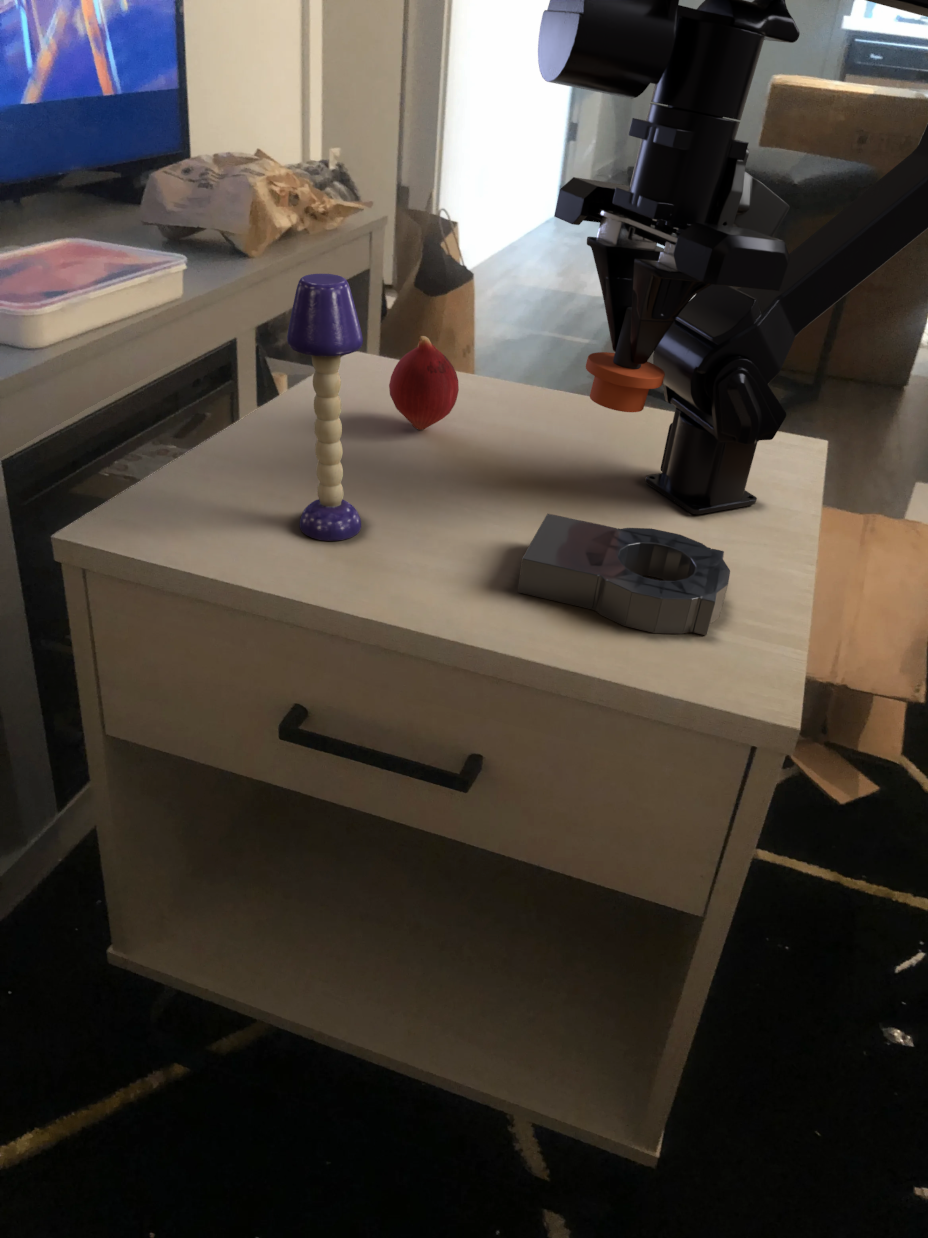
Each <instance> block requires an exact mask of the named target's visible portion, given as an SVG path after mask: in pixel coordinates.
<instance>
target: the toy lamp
mask: <svg viewBox="0 0 928 1238" xmlns="http://www.w3.org/2000/svg"><path fill="white" fill-rule="evenodd" d="M293 299H294V300H293V304H292V308H291V314H290V319H289V324H288V328H287V335H286V341H287V345H288V346H289V348H290V349H292V350H293V351H294V352H297V353H299V354H302V355H306V356H311V363H312V367H313V369H314V372H313V376H312V388H313V391H314V393H315V395H314V398H313V409H314V410H313V411H314V414H315V416H316V418H315V421H314V423H313V424H314V425H313V427H314V429H313V430H314V435H315V437H316V439H317V440H316V443H315V446H314V452H315V456H316V459H317V461H318V462H317V464H316V467H315V468H316V469H315V470H316V471H315V473H316V478H317V480H318V485H317V487H316V488H317V490H316V492H317V494H316V495H317V498H318V499H315V500H313V501H312V502H310V503H309V504H308V505H307V506H306V507H305V508H304V509H303V511H302V513H301V516H300V519H299V530H300V531H301V532H302V533H303V534H304V535H306V536H307V537H309V538H312V539H315V540H320V541H326V542H337V541H342V540H343V541H344V540H348V539H351V538H353V537H355V536H357V535H358V534H359V532H360V531H361V529H362V519H361V516H360V514H359V511H358V509H356V508H355V506H354V505H353V504H351V503H350V502H349V501H347V500H345V499H343V498H344V487H343V485H342V480H343V476H344V470H343V469H344V468H343V465H342V463H341V461H342V457H343V445H342V442H341V440H340V439H341V438H342V433H343V426H342V421H341V419H340V415H341V412H342V400H341V397H340V395H339V393H340V391H341V389H342V388H341V387H342V380H341V379H342V378H341V376H340V375H341V374H340V373H339V369H340V366H341V361H342V360H341V359H342V358H341V356H347V355H350V354H352V353H355V352H357V351H358V350H360V349H361V348H362V346H363V343H364V338H363V332H362V329H361V324H360V320H359V317H358V312H357V308H356V305H355V301H354V297H353V293H352V290H351V287H350V284H349V282H348V280H347V279H346V278H345V277H343V276H342V275H338V274H334V273H310V274H306V275H304V276H302V277H301V278H300V279H299V280H298V283H297V286H296V289H295V295H294V298H293Z"/></svg>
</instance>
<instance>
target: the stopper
mask: <svg viewBox="0 0 928 1238" xmlns="http://www.w3.org/2000/svg"><path fill="white" fill-rule="evenodd" d="M631 318H632V307H628V308H627V309H626V313H625V317H624V320H623V324H622V328H621V332H620V336H619V340H618V344H617V347H616V351H615V352H609V351H608V352H607V351H606V352H605V351H602V352H601V351H597V352H592V353H590V354H588V356H587V358H586V362H585V370H586V371H587V372H588V373H589V374H590V375H592V376H593V381H592V385H591V389H590V392H589V398H590V400H591V401H592V402H593V403H595V404H597V405H599V406H602V407H603V408H606V409H610V410H613V411H617V412H622V413H641V412H642V411H643V410H644V408H645V405H646V401H647V397H648V394H649V391H650V390H653V389H654V390H655V389H658V388H660V387H662V386H663V380H664V376H665V373H664V371H663V370H662V369H661V368H659V367H658V366H656V365H654V364H653V362H651V361H647V362H646V363H645V364H635V363H633V362H632V361H631V347H630V338H631Z"/></svg>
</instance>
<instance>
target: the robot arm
mask: <svg viewBox="0 0 928 1238" xmlns="http://www.w3.org/2000/svg"><path fill="white" fill-rule="evenodd" d="M865 1H866V2H870V3H874V4H876V5H881V6H885V7H888V8H891V9H896V10H899V11H904V12H907V13H911V14H914V15H918V16H921V17H926V18H928V0H865ZM679 3H680V0H549V2H548V5H547V9H544V11H543V13H542V16H541V21H540V25H539V33H538V43H537V63H538V68H539V72H540V75H541V78H542V79H543V80H544V81H545V82H547V83H551V84H557V85H562V86H567V87H572V88H577V89H581V90H585V91H591V92H597V93H600V94H606V95H611V96H616V97H620V98H626V99H631V100H632V99H635V98H638V97H640V96H641V95H642V94H643V93H644V92H645V91H646V90H647V88H648V87H649V85H650V84H652V85H654V88H653V91H652V94H651V99H650V103H649V107H648V110H647V114H646V118H645V119H640V118H635V117H632V118H631V123H630V127H629V131H628V136H629V137H634V138H637V139H640V143H639V147H638V150H637V155H636V156H637V157H636V159H635V162H634V163H635V164H634V168H633V172H632V176H631V180H630V184H629V185H625V184H623V183H617V182H616V183H615V182H609V181H602V180H595V179H589V178H583V177H582V178H581V177H574V176H573V177H572V178H571V179H569V180H568V181H567V182H566V183H565V184H564V185H563V186H562V187H561V188H560V189H559V192H558V195H557V200H556V205H555V210H554V214H553V217H554V218H557V219H559V220H561V221H563V222H566V223H568V224H571V225H574V226H580V225H581V224H582V223H583V222H592V223H599V226H598V230H597V234H596V237H595V236H587V237H586V245H587V246H588V247H590V248H591V252H592V256H593V261H594V264H595V268H596V272H597V273H596V274H597V277H598V280H599V285H600V289H601V293H602V300H603V304H604V309H605V315H606V320H607V326H608V331H609V332H608V333H609V336H610V337H609V338H610V342H611V348H612V352H613V353H615V351H616V347H617V344H618V340H619V336H620V332H621V328H622V324H623V320H624V317H625V313H626V309H627V308H628V307H632V318H631V338H630V347H631V361H632V362H633V363H635V364H645V363H646V362H649V359H651V356H652V364H654V365H656V366H658V367H659V368H661V369H662V370H663V371H664V373H665V376H664V380H663V383H662V386H663V393H664V400H665V401H666V402H667V403H668V404H671V405H672V406H674V407H675V409H674V413H673V419H672V422H671V423H670V424H669V426H668V431H667V434H666V435H667V436H666V440H665V445H664V450H663V455H662V458H661V464H660V473H655V474H648V475H646V476H645V480H644V482H645V483H646V484H647V485H648V486H649V487H651V488H653V489H654V490H655V491H657V492H658V493H660V494H662V495H663V496H664V497H666V498H668V500H670V501H672V502H674V503H675V504H676V505H678V506H680V507H681V508H683V509H684V510H685V511H687V512H688V513H690V514H692V515H704V514H710V513H714V512H715V513H716V512H720V511H725V510H731V509H737V508H744V507H749V506H753V505H756V504H757V500H758V498H757V496H756V495H754V494H752V493H750V492H749V491H747V490H746V488H747V483H748V479H749V476H750V472H751V468H752V465H753V461H754V457H755V454H756V450H757V446H758V442H759V441H772V440H773V439H774V438H775V436H776V435H777V433H778V431H779V430H780V428H781V426H782V424H783V423H784V421H785V420H786V418H787V412H786V410H785V409H784V407H783V406H782V404H781V402H780V401H779V399H778V398H777V396H776V395H775V394H774V392H773V390H772V389H771V387H770V386H769V384H770V383H771V382H772V381H773V380H774V379H775V378H776V377H777V376H778V375H779V373H780V372H781V371H782V369H783V366H784V364H785V361H786V359H787V357H788V355H789V353H790V350H791V349H792V346H793V343H794V341H795V339H796V337H797V336H798V335H799V334H800V333H801V332H802V331H803V330H804V329H805V328H807V327H809V325H811V323H813V322H815V320H816V319H818V318H819V317H820V316H821V315H823V314H824V313H825V312H826V311H829V309H831V308H832V307H833V306H834V305H835V304H836V303H837V302H839V301H841V300H842V299H843V298H844V297H845V296H846V295H848V294H849V293H850V292H852V290H854V289H855V288H856V287H857V286H859V285H860V284H862V283H863V281H865V280H866V279H868V278H869V277H870V276H871V275H872V274H874V273H875V272H876V271H877V270H879V269H880V268H881V267H883V265H885V264H886V263H887V262H888V261H890V260H891V259H892V258H893V257H895V256H896V255H897V254H898V253H900V252H901V251H903V249H905V248H906V247H907V246H908V245H909V244H911V243H912V242H913V241H914V240H917V238H918V237H920V236H921V235H922V234H923V233H925V232H926V231H927V230H928V122H927V123H926V126H925V128H924V131H923V132H922V135H921V137H920V139H919V142H918V144H917V146H916V148H914V149H913V151H912V152H911V153H910V154H908V156H906V157H905V158H904V159H902V160H901V161H900V162H899V163H898V164H896V165H895V166H894V167H893V168H892V169H890V170H889V171H888V172H887V173H885V174H884V175H882V177H881V178H880V179H878V180H877V181H875V183H873V184H872V185H871V186H870V187H868V188H867V189H866V190H865V191H864V192H862V193H861V194H860V195H859V196H857V197H856V198H855V199H854V200H852V202H850V203H849V204H848V205H847V206H845V207H844V208H843V209H842V210H841V211H839V212H838V213H837V214H835V216H833V217H832V218H831V219H830V220H829V221H827V222H826V223H825V224H824V225H822V226H821V227H820V228H818V230H816V231H815V232H814V233H812V234H811V235H810V236H809V237H808V238H807V239H804V241H803V242H801V243H800V244H799V245H798V246H797V247H795V248H794V249H793V250H792V251H791V252H789V250H788V248H787V245H786V242H785V240H782V239H779V238H776V237H774V235H775V233H776V232H777V230H778V229H779V227H780V226H781V224H782V222H783V220H784V219H785V217H786V215H787V214H788V212H789V210H790V209H791V208H790V207H791V206H790V205H789V204H788V203H787V202H786V201H785V200H783V199H782V198H781V197H780V196H778V195H777V193H775V192H773V190H771V189H770V188H769V187H767V185H765V184H764V183H762V182H761V180H759V179H757V178H755V177H754V176H752V175H751V174H750V173H748V172H747V171H746V165H747V162H748V159H749V155H750V150H749V142H748V141H744V140H740V139H736V137H737V134H738V131H739V127H740V123H741V120H742V117H743V114H744V110H745V107H746V103H747V100H748V96H749V93H750V89H751V86H752V83H753V79H754V76H755V72H756V69H757V65H758V61H759V58H760V55H761V52H762V48H763V45H764V41H769V42H778V43H789V44H794V43H796V42H797V41H798V40H799V38H800V29H799V28H798V26H797V24H796V22H795V20H794V18H793V17H792V15H791V13H790V11H789V9H788V7H787V4H786V0H752V1H749V0H703V1H702V3H701V4H699V6H698V7H697V8H693V7H689V6H685V5H681V4H679ZM659 245H660V246H659ZM661 246H662V247H661Z"/></svg>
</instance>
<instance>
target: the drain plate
mask: <svg viewBox="0 0 928 1238" xmlns="http://www.w3.org/2000/svg"><path fill="white" fill-rule="evenodd" d="M724 556H725V551H724V550H722V549H716V548H711V547H708V546H706V545H705V544H703V542H700V541H697V540H694V539H692V538H690V537H687V536H685V535H682V534H679V533H674V532H670V531H665V530H662V529H656V528H650V527H649V528H647V527H622V528H617V527H613V526H609V525H605V524H599V523H595V522H590V521H585V520H580V519H576V518H571V517H567V516H561V515H557V514H552V513H547V514H545V516H544V518H543V520H542V522H541V523H540V525H539V527H538V528H537V531H536V533H535V535H534V537H533V538H532V539H531V541H530V543H529V545H528V547H527V548H526V550H525V552H524V554H523V556H522V558H521V563H520V571H519V577H518V584H517V593H518V594H524V595H528V596H532V597H536V598H541V599H545V600H550V601H554V602H558V603H563V604H566V605H571V606H575V607H579V608H584V609H588V610H592V611H595V612H596V613H598V614H599V615H600V616H602V617H604V618H606V619H609V620H610V621H612V622H615V623H617V624H619V625H621V626H623V627H627V628H630V629H635V630H640V631H644V632H648V633H651V634H672V635H673V634H675V635H678V634H680V635H682V634H688V633H691V634H692V633H694V634H697V635H702V636H707V635H708V634H709V629H710V627H711V626H710V625H711V624H713V623H714V622H715V621H717V620H718V618H720V616H721V612H722V610H723V605H724V601H725V598H726V594H727V591H728V587H729V582H730V576H731V569H730V567H729V566H728V564H727V563H726V562H725V560H724ZM650 577H651V578H650ZM654 578H655V579H654ZM659 579H660V580H659Z"/></svg>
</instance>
